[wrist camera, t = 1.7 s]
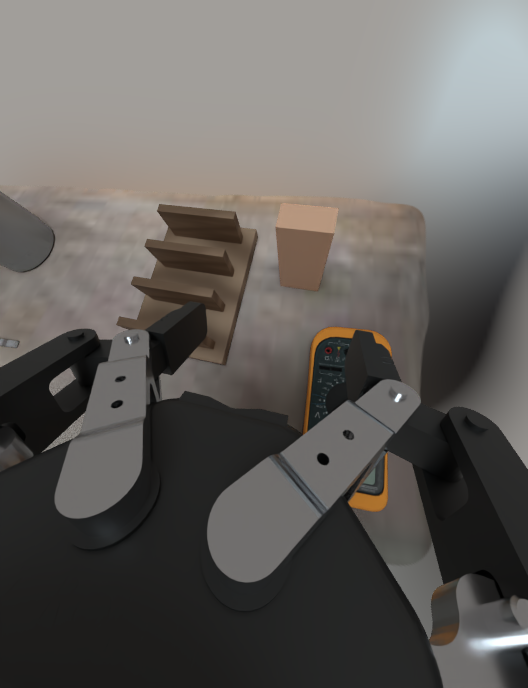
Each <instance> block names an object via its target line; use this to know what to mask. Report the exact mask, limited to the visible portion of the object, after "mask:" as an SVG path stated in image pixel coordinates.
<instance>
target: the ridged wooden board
mask: <svg viewBox="0 0 528 688" xmlns="http://www.w3.org/2000/svg"><path fill="white" fill-rule="evenodd" d="M157 212H158V213H159V214H160V216H161V217H162V218H163V220H164V221H165V222H166V224H167V225H168V230H167V233H166V236H165V239H164V241H158V240H150V239H147V241H146V243H145V247H146V248H147V249H148V250H149V251H150V252H151V253H152V254H153V255H154V256H155V257H156V258H157V262H156V265H155V268H154V271H153V274H152V277H151V279H147V278H140V277H133V280H132V282H131V285H133V286H134V287H136V288H137V289H139V290H140V291H142V292H143V293H145V294H146V295H145V298H144V300H143V303H142V306H141V309H140V312H139V315H138V318H137V320H135V319H129V318H124V317H119V319H118V322H117V324H116V325H118V326H120V327H123V328H126V329H128V330H134V329H140V330H145V329H147V328H148V327H150V326H151V325H152V324H154V323H155V322H157V321H158V320H160V319H161V318H162V317H165V315H167V314H168V313H170V312H171V311H174V310H176V309H179V308H181V307H182V306H184V305H185V304H187V303H188V302H189V301H192V302H198V303H203V304H204V305H205V307H206V317H207V335H206V338H205V339H204V340H203V341H202V343H201V344H200V345H199V346H198V347H197V348H196V349H195V350H194V351H193V353H192V354H191V355H190V356H189V358H194V359H199V360H203V361H208V362H213V363H217V364H222V365H225V364H226V360H227V356H228V352H229V348H230V344H231V341H232V337H233V333H234V329H235V325H236V321H237V317H238V313H239V309H240V305H241V301H242V297H243V293H244V289H245V285H246V281H247V277H248V273H249V269H250V265H251V261H252V258H253V254H254V250H255V246H256V242H257V238H258V236H257V231H256V229H248V228H240V225H239V222H238V219H237V215H236V212H232V211H222V210H212V209H202V208H192V207H182V206H172V205H162V204H159V207H158V210H157Z"/></svg>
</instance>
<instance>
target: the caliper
mask: <svg viewBox="0 0 528 688" xmlns="http://www.w3.org/2000/svg"><path fill="white" fill-rule="evenodd" d="M18 343H19V341H13V340H6V339H0V346H5V347H14V348H17V346H18Z"/></svg>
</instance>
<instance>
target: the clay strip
mask: <svg viewBox="0 0 528 688" xmlns="http://www.w3.org/2000/svg"><path fill="white" fill-rule="evenodd" d="M338 209H339V208H331V207H320V206H309V205H298V204H287V203H281V207H280V211H279V215H278V219H277V223H276V237H277V249H278V260H279V272H280V284H281V286H285V287H292V288H298V289H305V290H312V291H318V289H319V286H320V282H321V278H322V275H323V271H324V268H325V264H326V260H327V257H328V253H329V250H330V246H331V243H332V239H333V235H334V231H335V225H336V220H337V214H338Z"/></svg>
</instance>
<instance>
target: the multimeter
mask: <svg viewBox="0 0 528 688" xmlns="http://www.w3.org/2000/svg"><path fill="white" fill-rule="evenodd" d="M355 330H362V331H367V332H372V333H373V335H374V338H375V341H376V343H379V344H382V345H383V346H384V347H385V348H386V349H387V350H388V351H389V352H390V355H391V357H392V352H391V347H390V345H389V343H388V341H387V340H386V339H385V338H384V337H383V336H382V335H381V334H379V333H377V332H375V331H371V330H363V329H353V328H343V327H328V328H325V329H323V330H321V331H320V332H319V333H317V335H316V336H315V338H314V339H313V341H312V344H311V348H310V361H309V375H308V389H307V400H306V409H305V419H304V429H303V435H304V434H305V433H307V432H308V431H309V430H310V429H312V428H313V427H314V426H315V425H317V424H318V423H319V422H320V421H322V420H323V419H324V418H326V417H327V416H328V415H329V414H331V413H332V412H333V411H334V410H336V409H337V408H338V407H339V406H341V405H342V404H343V403H345V402H346V401H347V400H348V396H347V386H346V376H345V359H346V355H347V352H348V349H349V346H350V343H351V340H352V337H353V334H354V332H355ZM387 455H388V452H387V454H386V455H385V456H384V457H383V458H382V460H381V461H380V462H379V463H378V465H377V466H376V467H375V468H374V470H373V471H372V472H371V473H370V475H369V476H368V477H367V478H366V480H365V481H364V482H363V484H362V485H361V486H360V488H359V489H358V490H357V492H356V493H355V494H354V496H353V497H352V498H351V500H350V501H349V502H348V503H349V505H350V506H351V507H353V508H357V509H362V510H367V511H372V512H378V511H380V510H382V509H384V507H385V506H386V505H387V500H388V458H387Z"/></svg>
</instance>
